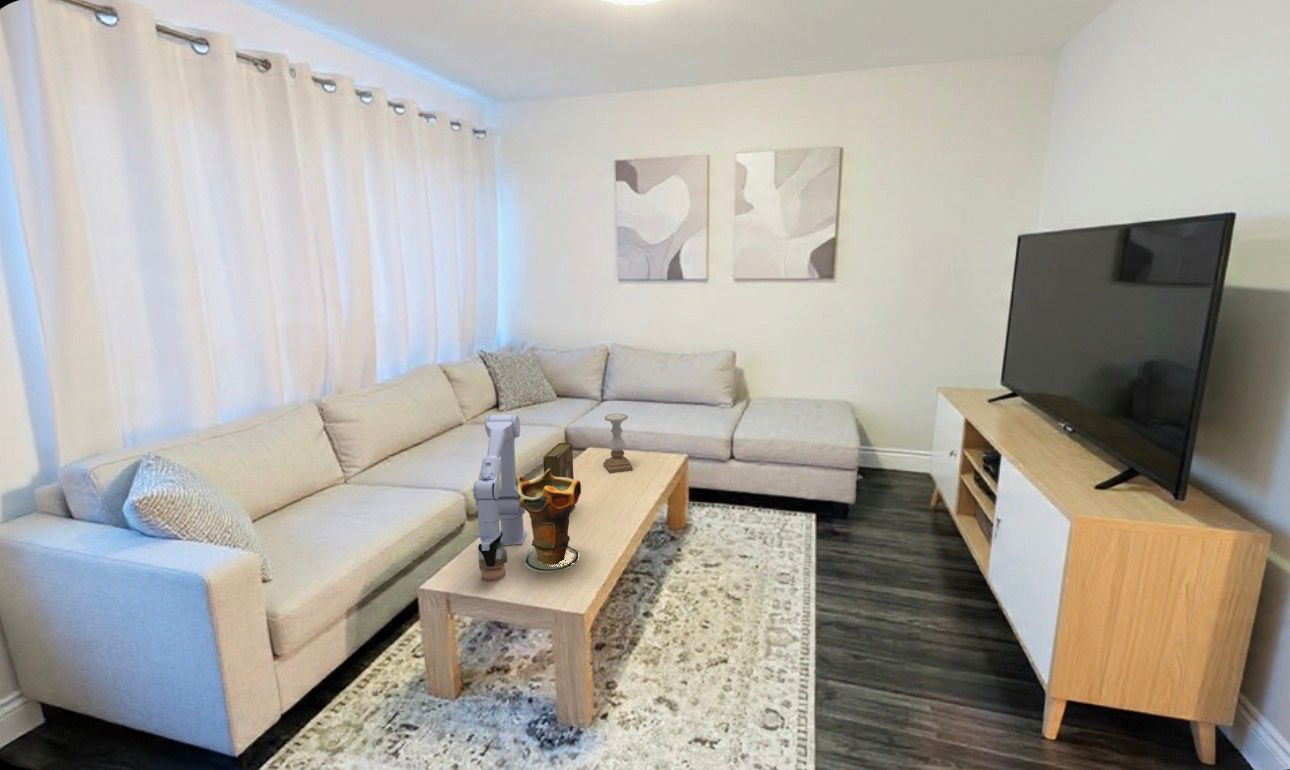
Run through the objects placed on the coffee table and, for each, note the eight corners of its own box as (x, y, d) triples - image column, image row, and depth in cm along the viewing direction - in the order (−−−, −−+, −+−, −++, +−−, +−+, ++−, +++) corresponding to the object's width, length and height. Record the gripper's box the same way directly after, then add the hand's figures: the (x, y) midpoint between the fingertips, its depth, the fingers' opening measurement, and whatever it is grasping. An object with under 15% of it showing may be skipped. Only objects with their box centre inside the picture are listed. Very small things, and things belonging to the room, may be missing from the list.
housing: (482, 561, 181) (481, 543, 180) (504, 560, 181) (503, 542, 180) (479, 569, 177) (477, 550, 175) (501, 568, 177) (500, 549, 176)
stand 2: (486, 555, 192) (486, 548, 191) (509, 554, 192) (508, 547, 192) (482, 566, 185) (481, 559, 184) (505, 565, 185) (504, 558, 185)
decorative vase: (550, 534, 205) (548, 456, 198) (599, 557, 191) (599, 474, 184) (500, 558, 189) (496, 475, 182) (550, 585, 175) (547, 496, 168)
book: (562, 505, 230) (559, 442, 225) (576, 506, 229) (573, 443, 224) (547, 523, 214) (543, 456, 209) (561, 524, 213) (558, 457, 208)
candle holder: (603, 465, 273) (601, 414, 268) (626, 462, 276) (624, 412, 271) (609, 473, 263) (607, 420, 258) (633, 470, 266) (631, 418, 261)
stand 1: (484, 570, 183) (483, 562, 182) (507, 568, 183) (506, 561, 183) (479, 582, 176) (478, 574, 176) (503, 580, 176) (502, 573, 176)
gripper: (480, 509, 183) (483, 550, 186) (469, 530, 169) (473, 574, 172) (503, 508, 183) (506, 549, 186) (494, 529, 169) (498, 573, 172)
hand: (492, 561), depth 179 cm, fingers closed on housing, 4 cm apart
